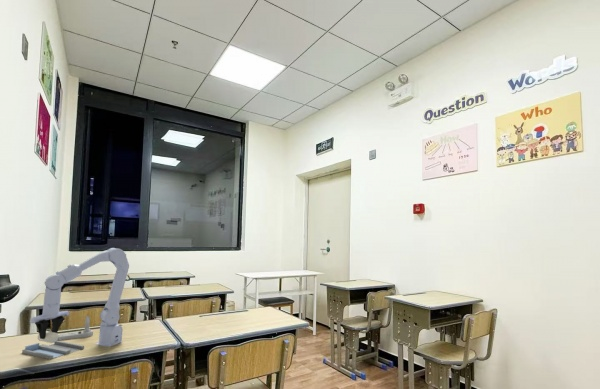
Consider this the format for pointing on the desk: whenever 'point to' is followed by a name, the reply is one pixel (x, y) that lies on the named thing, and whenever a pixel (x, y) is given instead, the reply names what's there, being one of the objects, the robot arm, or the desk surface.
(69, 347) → the tray
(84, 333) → the electronic device
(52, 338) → the beige rounded block
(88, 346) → the desk surface
